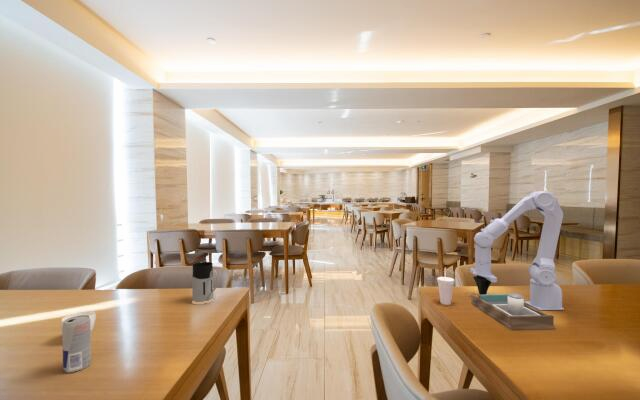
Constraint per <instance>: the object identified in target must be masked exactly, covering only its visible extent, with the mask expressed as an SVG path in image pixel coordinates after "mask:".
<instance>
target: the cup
mask: <svg viewBox="0 0 640 400" xmlns="http://www.w3.org/2000/svg"><path fill="white" fill-rule="evenodd" d="M80 315H88V316H89V318H90V328H91V332H92V330H93V329H94V327H95V323H96V319H97V315H96V312H95V311H91V310H85V311H79V312H75V313H70V314H68V315H66V316H64V317H63V318H61V320H60V321H61V322H60V323H61V325H60V326H61V327H62V325H63V322H64V321H65V320H66V319H69V318H71V317H75V316H80Z"/></svg>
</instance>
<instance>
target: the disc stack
mask: <svg viewBox="0 0 640 400" xmlns="http://www.w3.org/2000/svg"><path fill="white" fill-rule="evenodd" d="M507 294H508V312H509V313H511V314H514V315H524V301H525V296H524V295H522V294H520V293H516V292H514V293H513V292H507Z"/></svg>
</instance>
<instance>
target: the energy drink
mask: <svg viewBox="0 0 640 400" xmlns="http://www.w3.org/2000/svg"><path fill="white" fill-rule="evenodd" d="M61 333H62V334H61V337H62V340H61V341H62V371H63V372H64V373H66V372H67V373H69V374H70V372H73V373H76V372H75V371H77V372H80V371H82V370H84V369H86V368H88V367H89V366H90V364H91V362H92V350H91V349H92V344H91V343H92V340H91V338H92V337H91V335H92V331H91V328H90V318H89V316H88V315H80V316H75V317H71V318H69V319H66V320H65V321H64V322H63V325H62V326H61ZM88 365H89V366H88ZM79 370H80V371H79Z"/></svg>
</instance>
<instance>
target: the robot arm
mask: <svg viewBox="0 0 640 400" xmlns="http://www.w3.org/2000/svg"><path fill="white" fill-rule="evenodd" d="M532 210H538V211H539V212H540V213H541V214H542V215H543V216H544V219H543V220H544V221H543V224H542V229H541V235H540V238H539V243H538V248H537V251H536V253H537V254H536V256H535V258H534V259H533V261H532V263H531V265H529V266H528V271H527V272H528V274H529V275H530V276H531V278H530V279H529V300H524V303H525V304H527V305H529V306H531V307H533V308H535V309H537V310H539V311H562V310H565V308H564V307H563V290H562V288H561V287H560V285H558V283H555V282H556V281H557V274H556V272H555V271H556V265H555V262H554V260H555V255H556V251H557V246H558V241H559V236H560V233H561V227H562V222H563V219H564V212H563V210H562V208H561V206H560V203H559V199H558V197H557V196H555V194H553V193H552V192H550V191H549V190H542V191H537V190H536V191H532V192H530V193H529V194H528V195H527V196H524V197H523V198H521V200H520V201H518V203H516V204H515V205H514V206H513V207H512V208H511V209H510V210H509V211H507V213H505V214H504V215H503V216H502V217H501V218H494V219H491V220H490V221H489V222H490V223H489V224H487V225H486V226H485V227H484V228H481V229H480V231H479V232H476V234H475V235H474V237H473V241H474V243H475V246H474V247H475V250H474V267H470V270H469V271H470V272H469V273H471V274H472V275H474V276H473V280H474V282H475V284H476V287H477V290H478V291H477V292H478V294H479V296H480V295H484V294H488V290H489V288H490V285H491V284H492V283H498V277H497V276H495V275H494V274H493V273H492V249H491V247H492V245H493V244H494V240H497V239H498V238H499V237H500V236H501V235H503V234H504V233H505V232H506V231H507V230H509V224H510V223H512V222H513V221H514V220H516V219H518V217H520V216H521V215H522V214H524V213H525V212H526V211H532Z"/></svg>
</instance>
